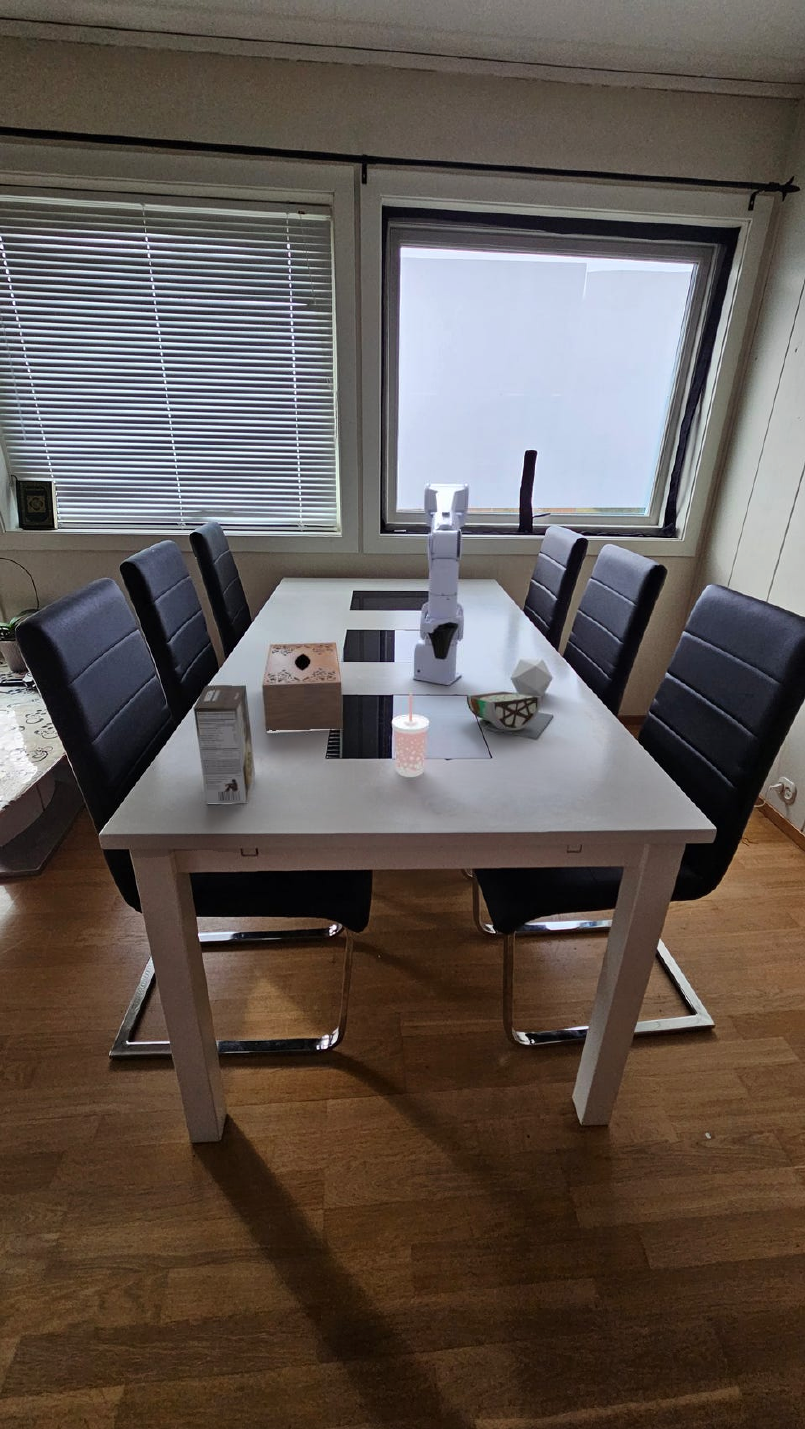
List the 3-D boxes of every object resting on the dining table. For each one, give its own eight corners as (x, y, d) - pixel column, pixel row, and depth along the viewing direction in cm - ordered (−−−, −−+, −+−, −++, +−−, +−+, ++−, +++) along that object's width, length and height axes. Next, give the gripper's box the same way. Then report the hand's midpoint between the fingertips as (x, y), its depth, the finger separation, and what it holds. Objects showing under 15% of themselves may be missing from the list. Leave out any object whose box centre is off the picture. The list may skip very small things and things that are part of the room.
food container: (460, 727, 122) (491, 736, 113) (460, 696, 121) (491, 703, 112) (509, 720, 128) (542, 728, 119) (509, 690, 126) (543, 696, 118)
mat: (486, 728, 120) (486, 726, 120) (505, 707, 129) (506, 705, 129) (536, 739, 116) (536, 737, 115) (553, 716, 125) (553, 714, 125)
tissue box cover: (273, 686, 140) (270, 644, 136) (337, 684, 142) (335, 642, 138) (266, 734, 117) (262, 685, 113) (342, 731, 119) (341, 682, 115)
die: (540, 707, 131) (564, 669, 131) (506, 686, 131) (530, 647, 131) (531, 706, 140) (554, 670, 139) (499, 686, 139) (522, 650, 139)
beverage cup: (430, 778, 101) (432, 699, 96) (393, 780, 101) (393, 700, 95) (425, 761, 107) (427, 685, 101) (390, 762, 106) (390, 686, 101)
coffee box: (216, 776, 101) (204, 684, 95) (256, 775, 102) (247, 683, 96) (204, 806, 93) (191, 707, 87) (248, 804, 94) (238, 706, 87)
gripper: (447, 602, 115) (444, 671, 120) (475, 588, 127) (471, 651, 132) (413, 598, 118) (412, 665, 123) (443, 584, 130) (441, 647, 135)
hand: (440, 658), depth 128 cm, fingers closed
